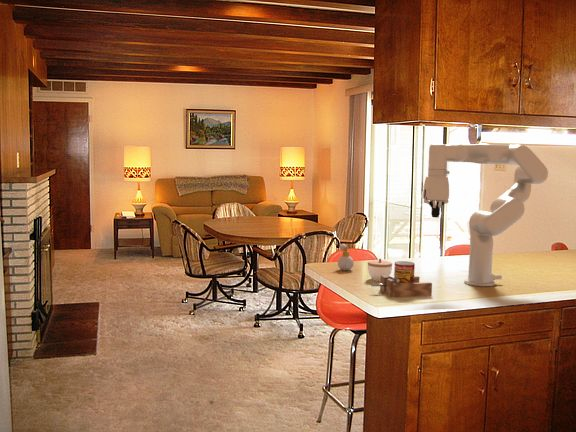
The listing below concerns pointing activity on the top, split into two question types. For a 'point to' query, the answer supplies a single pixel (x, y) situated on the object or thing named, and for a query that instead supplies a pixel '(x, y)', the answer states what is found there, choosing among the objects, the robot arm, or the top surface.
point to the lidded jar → (379, 269)
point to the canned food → (404, 271)
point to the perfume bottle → (345, 259)
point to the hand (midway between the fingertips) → (435, 217)
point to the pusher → (388, 278)
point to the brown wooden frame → (405, 288)
